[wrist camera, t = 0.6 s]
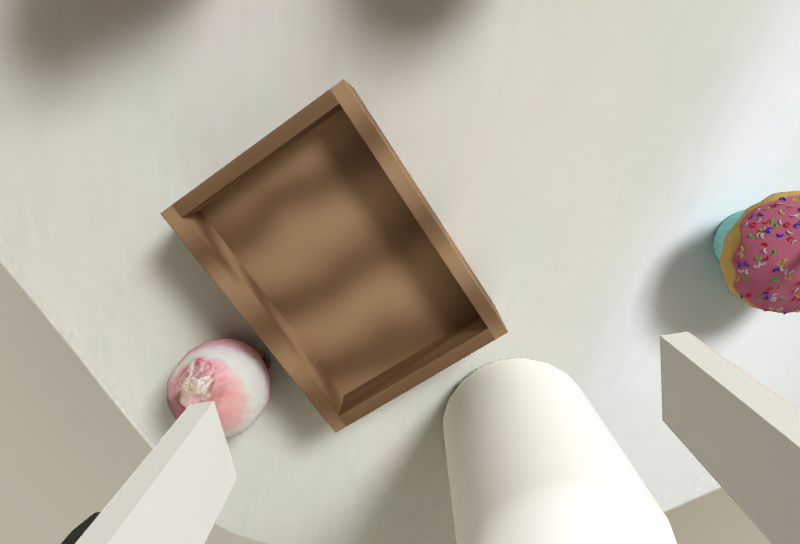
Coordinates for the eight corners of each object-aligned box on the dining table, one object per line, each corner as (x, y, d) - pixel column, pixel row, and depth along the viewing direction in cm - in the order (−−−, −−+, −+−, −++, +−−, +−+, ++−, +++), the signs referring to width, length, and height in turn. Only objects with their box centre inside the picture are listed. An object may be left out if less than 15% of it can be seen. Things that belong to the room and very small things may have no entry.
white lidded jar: (574, 483, 44) (701, 755, 25) (436, 475, 44) (457, 740, 25) (596, 357, 40) (765, 560, 21) (447, 349, 41) (482, 544, 21)
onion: (218, 312, 41) (208, 330, 34) (291, 364, 43) (296, 390, 36) (155, 388, 40) (132, 421, 33) (232, 437, 42) (226, 478, 35)
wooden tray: (195, 202, 37) (160, 213, 32) (353, 87, 35) (343, 79, 30) (344, 394, 42) (335, 432, 37) (494, 305, 39) (507, 332, 34)
